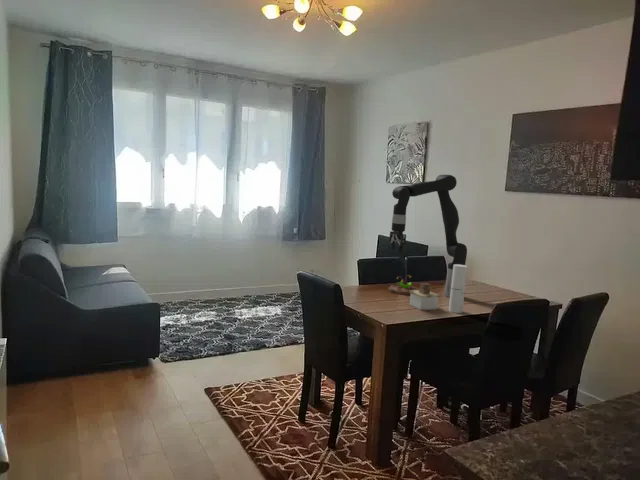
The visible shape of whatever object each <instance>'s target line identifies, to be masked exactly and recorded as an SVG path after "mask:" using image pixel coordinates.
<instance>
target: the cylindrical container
mask: <svg viewBox="0 0 640 480" xmlns="http://www.w3.org/2000/svg"><path fill="white" fill-rule="evenodd" d="M467 272H468V265H466V264H465V265H459V264H454V265H453V274H452V284H451V293H450V297H449V302H448V303H449V304H448V312H451V313H453V314H462V313H463V310H464V301H465V293H466V282H467Z"/></svg>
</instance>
